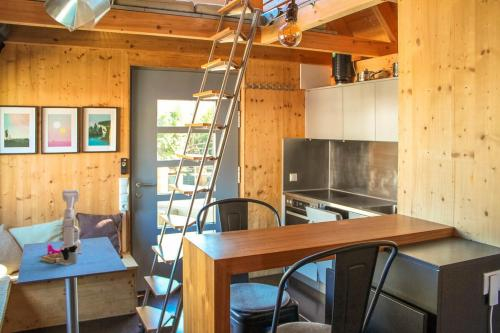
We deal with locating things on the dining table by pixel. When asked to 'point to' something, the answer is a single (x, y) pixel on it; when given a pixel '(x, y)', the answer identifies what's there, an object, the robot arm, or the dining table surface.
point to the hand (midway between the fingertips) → (69, 258)
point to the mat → (65, 263)
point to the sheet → (70, 258)
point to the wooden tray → (51, 258)
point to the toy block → (52, 250)
